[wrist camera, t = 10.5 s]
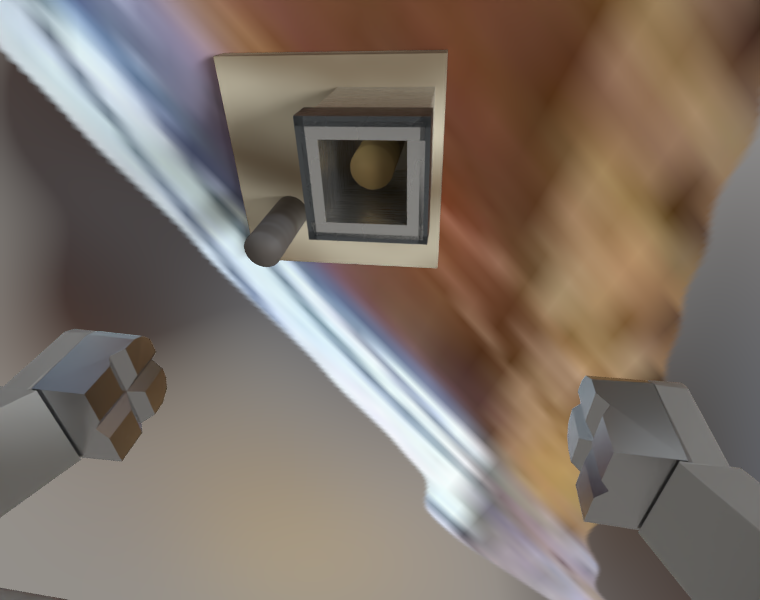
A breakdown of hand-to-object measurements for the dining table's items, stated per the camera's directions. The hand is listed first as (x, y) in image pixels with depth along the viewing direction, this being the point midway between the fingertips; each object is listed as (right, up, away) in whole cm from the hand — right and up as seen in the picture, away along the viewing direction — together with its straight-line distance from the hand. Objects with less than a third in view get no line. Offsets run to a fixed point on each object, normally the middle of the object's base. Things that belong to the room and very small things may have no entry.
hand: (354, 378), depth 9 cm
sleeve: (+1, +10, +16) cm, 19 cm away
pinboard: (-2, +9, +19) cm, 21 cm away
